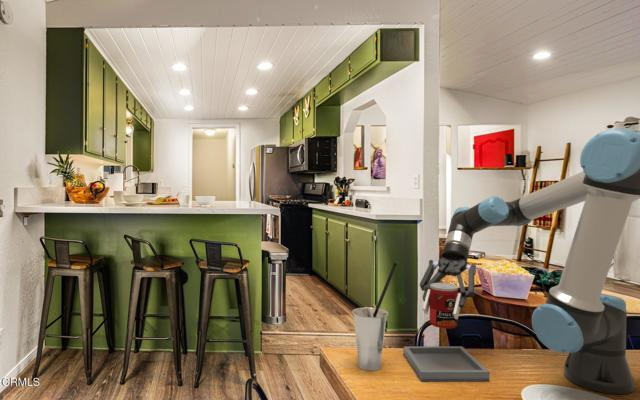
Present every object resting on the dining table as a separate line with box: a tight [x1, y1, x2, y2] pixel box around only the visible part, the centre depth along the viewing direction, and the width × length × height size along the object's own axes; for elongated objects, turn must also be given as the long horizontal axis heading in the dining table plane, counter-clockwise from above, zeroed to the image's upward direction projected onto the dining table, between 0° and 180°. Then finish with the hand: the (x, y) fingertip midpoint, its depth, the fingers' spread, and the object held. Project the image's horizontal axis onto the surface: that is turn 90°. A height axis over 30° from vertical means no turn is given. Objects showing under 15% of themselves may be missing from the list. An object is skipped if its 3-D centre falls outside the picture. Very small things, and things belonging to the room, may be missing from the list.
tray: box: [403, 345, 490, 383], centre depth 113 cm, size 18×18×2 cm
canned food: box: [429, 282, 459, 330], centre depth 113 cm, size 8×8×11 cm
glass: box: [351, 262, 398, 372], centre depth 112 cm, size 11×11×30 cm
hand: (439, 313), depth 110 cm, fingers closed on canned food, 8 cm apart
